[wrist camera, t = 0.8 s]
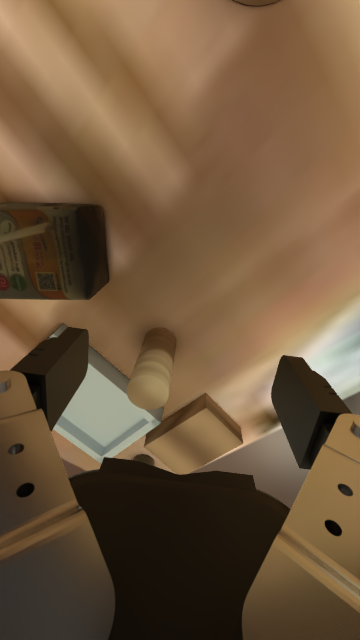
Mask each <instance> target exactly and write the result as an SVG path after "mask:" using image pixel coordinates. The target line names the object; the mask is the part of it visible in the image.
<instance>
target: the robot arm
mask: <svg viewBox="0 0 360 640" xmlns="http://www.w3.org/2000/svg"><path fill="white" fill-rule="evenodd" d="M235 1H237V2H240V3H243V4H245V5H256V6H262V5H266V4H271V3H275V2H277V1H279V0H235ZM88 341H89V335H88V330H87V329H79V328H71V327H68V328H66V329H65V330H64V331H63V332H62V333H61V334H60V335H59V336H58V337H52V338H49V339H47V340H45V341H42V342H41V343H40V344H39V345H38V346H36V347H35V348H34V350H32V351H31V352H30V353H29V354H28V355H26V356H25V357H24V358H23V359H22V360H21V361H20V362H19V363H17V364H16V365H15V366H14V367H13V368H12V369H11V370H10V371H0V640H360V416H358V415H355V414H352V413H351V411H350V410H349V409H348V407H347V406H346V405H345V404H344V402H343V401H342V400H341V398H340V397H339V396H338V395H337V393H336V392H335V391H334V390H333V388H331V386H330V384H329V383H328V382H327V381H326V379H325V378H323V377H322V376H321V375H319V374H318V373H317V372H315V371H312V370H311V368H310V367H309V366H308V364H307V363H306V362H305V360H304V359H303V358H301V357H293V356H286V355H283V356H282V357H281V359H280V361H279V365H278V368H277V372H276V376H275V379H274V383H273V386H272V391H271V398H272V403H273V406H274V408H275V410H276V413H277V415H278V418H279V420H280V422H281V425H282V427H283V430H284V432H285V434H286V437H287V439H288V442H289V444H290V447H291V449H292V451H293V454H294V456H295V459H296V461H297V463H298V466H299V468H303V469H310V472H309V474H308V476H307V478H306V480H305V482H304V484H303V486H302V488H301V490H300V492H299V494H298V496H297V498H296V500H295V502H294V504H293V506H292V508H291V509H289V508H288V507H287V506H286V505H284V504H283V503H282V502H280V501H279V500H277V499H275V498H274V497H272V496H271V495H269V494H267V493H265V492H263V491H260V490H257V489H256V488H255V483H254V479H253V475H245V474H237V473H229V472H221V471H211V472H202V473H192V474H182V475H179V474H174V473H171V472H169V471H166V470H163V469H160V468H157V467H155V466H152V465H149V464H146V463H144V462H141V461H133V460H125V459H117V458H109V457H104V458H103V461H102V464H101V467H100V469H98V470H91V471H87V472H83V473H80V474H77V475H74V476H72V477H69V478H68V476H67V474H66V471H65V468H64V466H63V463H62V460H61V458H60V455H59V452H58V450H57V447H56V444H55V442H54V439H53V436H52V434H51V431H52V430H53V428H54V426H55V425H56V423H57V422H58V420H59V418H60V417H61V415H62V414H63V412H64V410H65V409H66V407H67V406H68V404H69V402H70V401H71V399H72V398H73V396H74V394H75V393H76V391H77V390H78V388H79V386H80V385H81V383H82V382H83V380H84V378H85V376H86V373H87V369H88Z"/></svg>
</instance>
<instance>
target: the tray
mask: <svg viewBox="0 0 360 640" xmlns="http://www.w3.org/2000/svg"><path fill="white" fill-rule="evenodd" d="M66 328H68V327H67V326H65V325H64V324H62V325H61V326H60V327H59V328H58V329H57V330H56V331H55V332H54V333H53V334H52V335H51V336H50V337H49V338H52V337H58V336H59V335H60V334H61V333H62V332H63V331H64V330H65V329H66ZM49 338H48V339H49ZM129 381H130V380H129V379H128V378H127V377H126V376H124V375H123V374H122V373H121V372H120V371H119V370H117V369H116V368H115V367H114V366H113V365H111V364H110V363H109V362H108V361H107V360H106V359H104V358H103V357H102V356H101V355H100V354H98V353H97V352H96V351H95V350H94V349H93V348H91V347H90V346H89V345H88V369H87V373H86V376H85V378H84V380H83V382H82V383H81V385H80V386H79V388H78V390H77V391H76V393H75V394H74V396H73V398H72V399H71V401H70V402H69V404H68V406H67V407H66V409H65V410H64V412H63V414H62V415H61V417H60V418H59V420H58V422H57V423H56V425H55V426H54V428H53V429H54V430H55V431H56V432H58V433H59V434H61V435H62V436H63V437H65V438H66V439H68V440H69V441H70V442H72V443H73V444H75V445H76V446H77V447H79V448H80V449H81V450H83V451H84V452H86V453H87V454H88V455H90V456H91V457H93V458H94V459H95V460H97V461H98V462H100V463H101V464H102V461H103V458H104V457H109V458H112V457H114V456H115V455H117V454H118V453H119V452H121V451H122V450H124V449H125V448H126V447H128V446H129V445H131V444H132V443H134V442H135V441H136V440H138V439H139V438H141V437H142V436H143V435H145V434H146V433H148V432H149V431H151V430H152V429H153V428H155V427H156V426H158V425H159V424H160V423H161V421H162V415H163V408H162V407H160V408H157V409H154V410H145V409H141V408H139V407H137V406H135V405H134V404H133V403H131V401H130V400H129V398H128V396H127V386H128V383H129Z"/></svg>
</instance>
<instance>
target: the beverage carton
mask: <svg viewBox="0 0 360 640" xmlns="http://www.w3.org/2000/svg"><path fill="white" fill-rule="evenodd" d="M108 282H109V277H108V266H107V255H106V240H105V228H104V215H103V208H102V207H101V206H99V205H93V204H63V203H0V299H42V300H89V299H91V297H93V296H94V295H95V294H96V293H97V292H98V291H100V290H101V288H102V287H103V286H105V285H106V284H107V283H108Z"/></svg>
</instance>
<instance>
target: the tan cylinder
mask: <svg viewBox="0 0 360 640" xmlns="http://www.w3.org/2000/svg"><path fill="white" fill-rule="evenodd" d="M175 349H176V339H175V336H174V335H173V334H172V333H171V332H170V331H169V330H167V329H164V328H155V329H152V330H150V331H149V332H148V333H147V334H146V336H145V339H144V342H143V345H142V348H141V350H140V353H139V356H138V359H137V361H136V364H135V367H134V370H133V372H132V375H131V378H130V381H129V383H128V386H127V396H128V398H129V400H130V401H131V403H133V404H134V405H135V406H137V407H139V408H141V409H145V410H154V409H157V408H160V407H162V406H163V405H164V404H165V403H166V401H167V400H168V396H169V389H170V382H171V376H172V369H173V362H174V355H175Z"/></svg>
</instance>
